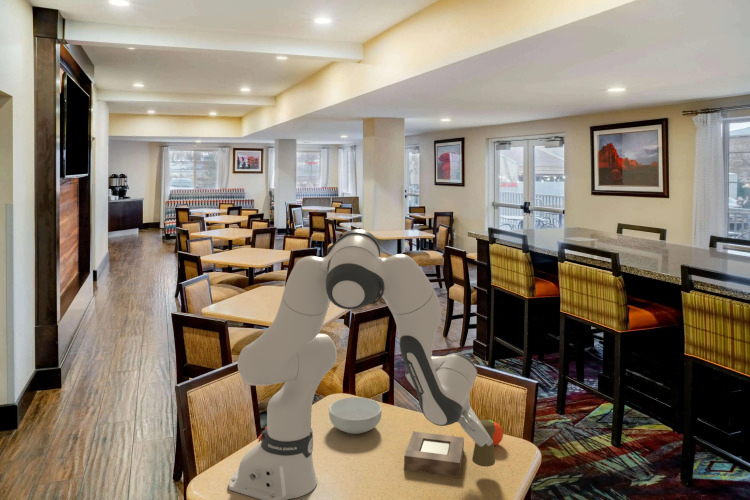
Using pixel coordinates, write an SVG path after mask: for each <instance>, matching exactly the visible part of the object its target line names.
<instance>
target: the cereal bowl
mask: <svg viewBox="0 0 750 500" xmlns="http://www.w3.org/2000/svg"><path fill="white" fill-rule="evenodd" d="M382 413H383V412H382V405H381V404H380V403H379V402H378V401H376V400H374V399H372V398H367V397H360V396H359V397H356V396H355V397H353V396H352V397H345V398H340V399H337V400H336V401H334V402H332V403H331V404H330V405H329V408H328V415H329V421H330V422H331V424H332V425H333V426H334V427H335V428H336V429H338V430H339V431H341V432H343V433H344V432H345V433H347V434H351V435H359V434H363V433H366V432H368V431H371V430H372V429H374V428H376V427H377V426H378V424H379V423H380V422H381V419H382Z"/></svg>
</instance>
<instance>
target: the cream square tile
mask: <svg viewBox="0 0 750 500" xmlns="http://www.w3.org/2000/svg"><path fill="white" fill-rule="evenodd" d="M449 446H450V444H449V443H441V442H433V441H425V440H424V442H423V445H422V448H421V452H429V453H437V454H445V455H448V451H449Z"/></svg>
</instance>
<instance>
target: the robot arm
mask: <svg viewBox="0 0 750 500" xmlns="http://www.w3.org/2000/svg"><path fill="white" fill-rule="evenodd" d="M326 254H327V255H326V256H323V257H319V256H315V255H309V256H308V255H307V256H304V257H302V258H300V259H298V260H297V262H296V263H295V264H294V266H293V268H292V269H291V271H290V274H289V275H288V279H287V281H286V283H285V286H284V289H283V294H282V297H281V299H280V300H281V301H280V303H279V308H278V310H277V312H276V316H275V318H274V319H273V320H272V322H271V324H270V325H269V326H268V328H267V329H266V330H265V331H263V332H262V334H261V335H259V336H258V337H257V338H256V339H255V340H253V341H252V342H251V343H249V344H247V345H245V346H244V347H243V348H242V349H241V351H240V353H239V355H238V360H237V370H238V373H239V375H240V377H241V379H242V380H243V382H245V383H246V384H247V385H249V386H272V385H276V384H281V383H284V384H283V385H282V386H281V388H280V389H279V390H278V391H277V392H276V393H274V395H272V396H271V397H270V399H269V401H268V404H267V406H266V413H267V416H266V417H267V418H266V419H267V421H266V424H267V425H265V427H264V430H262V431H261V432H260V435H259V436H258V438H257V439H258V440H257V443H259V444H257V445H256V446H254V447H252V448H251V449H249V451H247V452H246V453H245V454H244V456H243V457H242V458H241V459H240V460H241V461H240V462H239V466H238V468H237V469H236V470H235V471H234V472H233V474H232V475H231V476H230V478H229V481H228V490H230V491H232V492H236V493H238V494H242V495H245V496H248V497H252V498H253V499H254V498H255V499H259V500H291V499H296V498H299V497H302V496H305V495H307V494H309V493H311V492H312V491H313V490H314V489H315V487H316V486H317V484H318V477H317V476H316V471H315V466H314V460H313V449H314V436H313V428H312V411H313V401H314V397H315V395H316V391H317V389H318V388H319V385H320V383H321V382H322V380H323V379H324V377H325V375H326V374H327V373H329V372H330V371H331V369H333V367H334V366H335V363H336V361H337V358H338V350H337V346H336V343H335V341H334V340H333V339H332V337H330V335H328V334H327V333H321V331H322V328H323V326H324V322H325V319H326V317H327V313H328V309H329V307H330V304H331V303H332V304H333V305H335V306H336V307H338V308H340V309H343V310H357V309H362V308H364V307H367V306H368V305H375V304H376V303H378V302H379V301H380V300H381V299H383V300H384V302H385V303H386V305H387V307H388V309H389V311H390V312H391V314H392V316H393V318H394V322H395V324H396V325H395V326H396V329H397V333H398V338H399V339H398V340H399V341H398V342H399V350H400V353H401V356H402V358H403V359H402V360H403V362H404V364H405V367H406V369H405V373H404V375H405V378H406V380H407V381H408V382H409V383H410V385H411V386H412V387H413V388H414V390H415V391H416V393H417V397H418V404H419V407H420V410H421V412H422V414H423V416H424V418H425V419H427V420H428V421H429V422H430V423H432V424H434V425H436V426H439V427H444V426H445V427H446V426H450V425H452V424H456V423H458V424H459V425H460V427H461V428H462V429H463V431H464V432H465V433H466V435H468V436H469V437H470V438H471V439H472V441H473V442H474V443H475V442H476V443H477V444H478V445H479V446H480V447H482V446H484V445H485V444H487V445H488V446H490V445H491V444H492V443H493V440H492V439H491V438H490V436H489V434H488V433H487V431H486V430H485V428H484V427H483V425H482V424H481V422H480V419H479V417H478V416H477V415H476V413H475V411H474V410H473V409H472V406H471V403H470V400H471V399H470V393H471V391H472V388H473V386H474V384H475V381H476V379H477V376H478V369H477V367H476V365H475V363H474V362H473V361H472V360H471V359H470V358H469V357H468V356H466V355H465V354H462V353H460V352H451V353H448V354H445V355H442V356H441V355H438V356H437V355H436V356H435V355H433V347H434V342H435V338H436V336H437V335H436V334H437V331H438V328H439V325H440V322H441V319H442V307H441V306H442V305H441V303H440V299H439V296H438V294H437V292H436V291H435V289H434V286H433V285H432V283H431V282H430V280H429V278H428V277H427V275H426V274H425V273H424V270H423V269H422V268H421V267H420V266H419V264H418V263H417V262H416V261H415V259H413V258H412V257H411V256H410V255H407V254H405V253H404V254H403V253H397V254H393V255H390V256H388V257H381V247H380V245H379V242H378V240H377V238H376V237H375V236H374V235H373V234H372V233H371V232H369V231H367V230H365V229H359V228H356V229H351V230H348V231H347V232H345V233H344V234H343V235H342V236H340V237H339V238H338V239H337V240H336V241H335V242H334V243H332V244H331V245H330V246H329V247H327V250H326Z"/></svg>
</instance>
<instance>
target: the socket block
mask: <svg viewBox="0 0 750 500" xmlns="http://www.w3.org/2000/svg"><path fill="white" fill-rule="evenodd" d="M424 440H425V441H433V442H441V443H449V444H450V446H449V451H448V455H445V454H437V453H429V452H421V448H422V445H423V442H424ZM464 442H465V438H464V436H463V437H462V436H456V435H455V436H453V435H446V434H445V435H444V434H437V433H432V432H431V433H429V432H421V431H413V432H412V434H411V436H410V440H409V442H408V445H407V448H406V451H405V452H404V459H403V460H404V461H403V463H404V464H403V470H407V471H413V472H420V473H425V474H426V473H427V474H433V475H434V474H435V475H442V476H449V477H455V478H460V475H461V470H462V461H463V454H464V447H465V446H464Z"/></svg>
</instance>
